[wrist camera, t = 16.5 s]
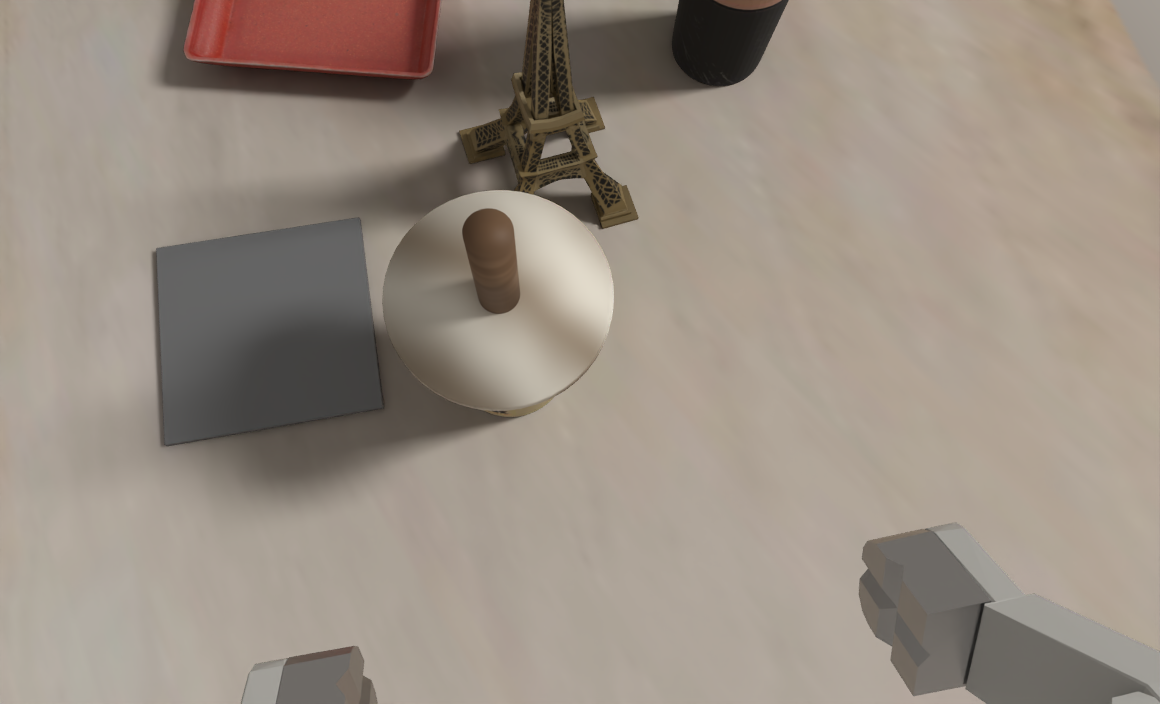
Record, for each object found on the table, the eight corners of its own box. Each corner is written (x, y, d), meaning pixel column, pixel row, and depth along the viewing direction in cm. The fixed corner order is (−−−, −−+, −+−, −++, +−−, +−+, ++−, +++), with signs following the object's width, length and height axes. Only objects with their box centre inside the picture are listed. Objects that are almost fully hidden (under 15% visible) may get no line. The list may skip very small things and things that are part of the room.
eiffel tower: (459, 133, 57) (395, -189, 33) (593, 99, 58) (625, -234, 34) (498, 258, 54) (459, 7, 30) (637, 219, 55) (707, -51, 31)
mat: (383, 408, 51) (382, 407, 50) (167, 446, 49) (164, 444, 49) (360, 219, 54) (359, 217, 54) (159, 250, 53) (156, 248, 53)
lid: (554, 449, 38) (555, 416, 30) (344, 351, 39) (290, 293, 31) (647, 252, 41) (671, 173, 33) (451, 166, 42) (429, 69, 34)
